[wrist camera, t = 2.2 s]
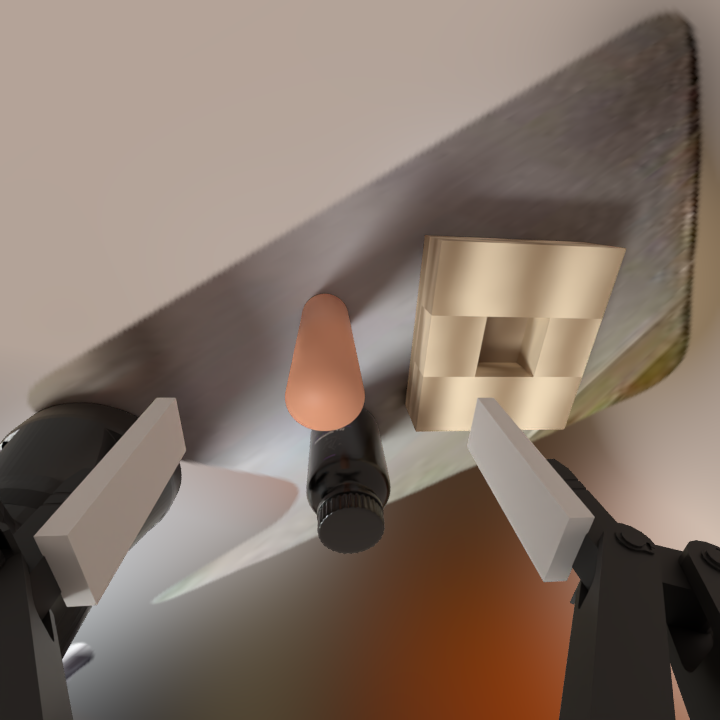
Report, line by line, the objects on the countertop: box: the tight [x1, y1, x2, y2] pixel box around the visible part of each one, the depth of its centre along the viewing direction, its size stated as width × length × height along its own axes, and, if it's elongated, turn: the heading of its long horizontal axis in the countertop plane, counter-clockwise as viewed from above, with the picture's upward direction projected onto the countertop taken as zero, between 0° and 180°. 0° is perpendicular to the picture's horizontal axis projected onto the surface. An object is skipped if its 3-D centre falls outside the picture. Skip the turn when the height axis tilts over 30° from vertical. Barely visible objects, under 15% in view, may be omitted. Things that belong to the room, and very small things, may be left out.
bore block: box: [405, 235, 626, 431], centre depth 30 cm, size 14×16×4 cm
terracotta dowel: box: [285, 294, 365, 431], centre depth 24 cm, size 4×4×14 cm
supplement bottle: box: [307, 408, 390, 554], centre depth 30 cm, size 7×7×12 cm
